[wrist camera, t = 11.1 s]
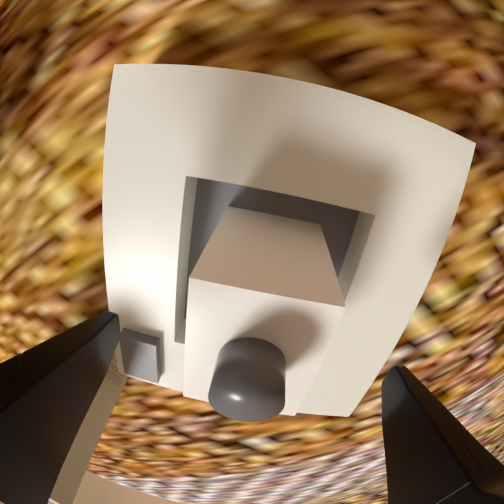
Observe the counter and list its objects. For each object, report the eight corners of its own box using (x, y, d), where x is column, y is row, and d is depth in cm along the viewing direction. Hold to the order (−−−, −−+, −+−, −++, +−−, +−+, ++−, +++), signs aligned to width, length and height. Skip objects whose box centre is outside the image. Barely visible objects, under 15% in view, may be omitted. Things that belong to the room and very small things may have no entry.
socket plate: (136, 341, 18) (115, 380, 15) (146, 72, 11) (106, 63, 8) (343, 381, 18) (349, 424, 15) (441, 135, 11) (484, 145, 8)
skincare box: (91, 328, 19) (2, 466, 8) (136, 369, 20) (72, 512, 9) (60, 355, 21) (-9, 462, 10) (98, 389, 22) (43, 500, 11)
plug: (214, 301, 15) (172, 429, 8) (227, 206, 13) (170, 313, 6) (292, 316, 15) (294, 450, 8) (320, 224, 13) (356, 347, 6)
